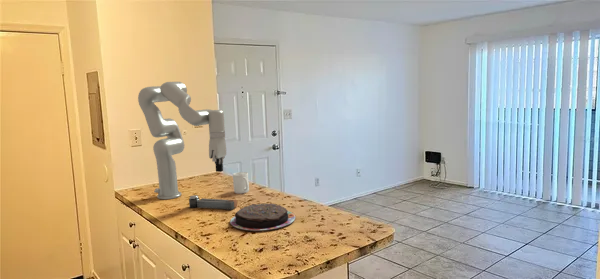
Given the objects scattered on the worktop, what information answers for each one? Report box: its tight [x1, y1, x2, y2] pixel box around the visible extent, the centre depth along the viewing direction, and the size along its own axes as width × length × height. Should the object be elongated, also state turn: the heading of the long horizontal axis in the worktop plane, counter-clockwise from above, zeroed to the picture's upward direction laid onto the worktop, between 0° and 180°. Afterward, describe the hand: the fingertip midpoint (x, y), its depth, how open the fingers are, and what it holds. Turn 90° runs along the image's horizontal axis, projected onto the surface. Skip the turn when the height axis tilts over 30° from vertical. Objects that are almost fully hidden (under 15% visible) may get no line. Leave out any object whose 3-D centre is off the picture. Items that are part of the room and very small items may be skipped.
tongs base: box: [188, 197, 235, 211], centre depth 197 cm, size 24×6×4 cm, turn 73°
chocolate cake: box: [229, 202, 296, 233], centre depth 174 cm, size 28×28×7 cm
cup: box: [232, 171, 250, 194], centre depth 222 cm, size 8×12×10 cm
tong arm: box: [189, 194, 238, 209], centre depth 197 cm, size 24×5×5 cm, turn 71°
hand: (219, 171), depth 203 cm, fingers closed
